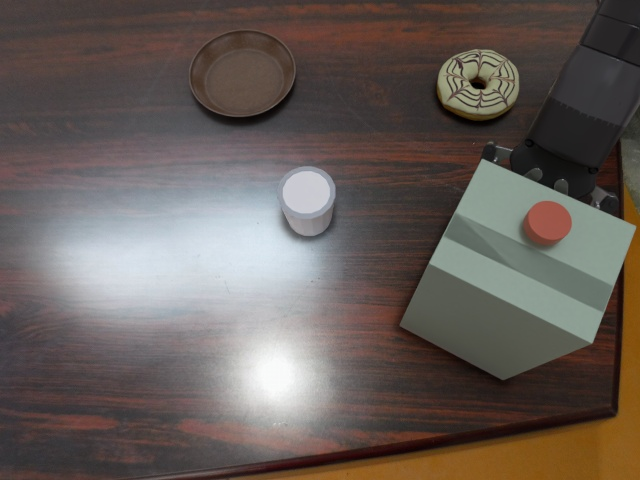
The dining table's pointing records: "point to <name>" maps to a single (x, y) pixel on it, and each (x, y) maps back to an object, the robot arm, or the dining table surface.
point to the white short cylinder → (307, 199)
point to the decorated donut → (482, 69)
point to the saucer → (242, 72)
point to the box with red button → (516, 277)
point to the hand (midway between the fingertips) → (503, 254)
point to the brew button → (547, 223)
